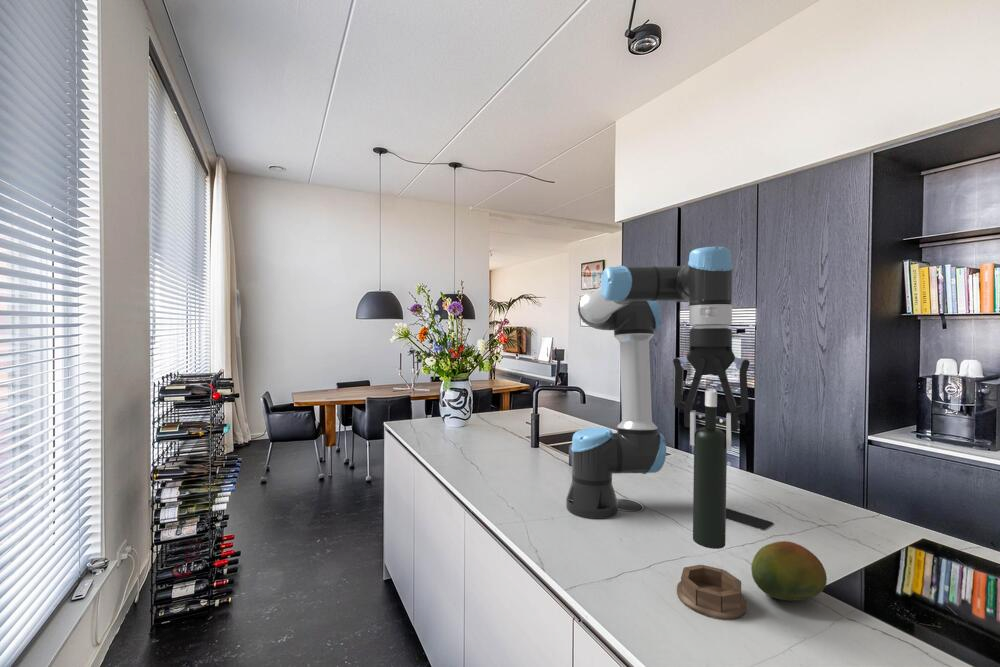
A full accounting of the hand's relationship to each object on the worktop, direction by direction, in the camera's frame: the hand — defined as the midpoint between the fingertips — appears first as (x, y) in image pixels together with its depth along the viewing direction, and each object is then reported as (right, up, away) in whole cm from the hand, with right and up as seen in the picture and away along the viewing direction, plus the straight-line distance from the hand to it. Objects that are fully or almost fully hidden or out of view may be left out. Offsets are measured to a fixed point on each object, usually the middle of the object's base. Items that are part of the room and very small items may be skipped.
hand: (710, 445), depth 86 cm
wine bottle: (0, -19, 0) cm, 19 cm away
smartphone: (+26, -30, +37) cm, 55 cm away
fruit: (+15, -30, +1) cm, 34 cm away
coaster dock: (0, -30, 0) cm, 30 cm away
